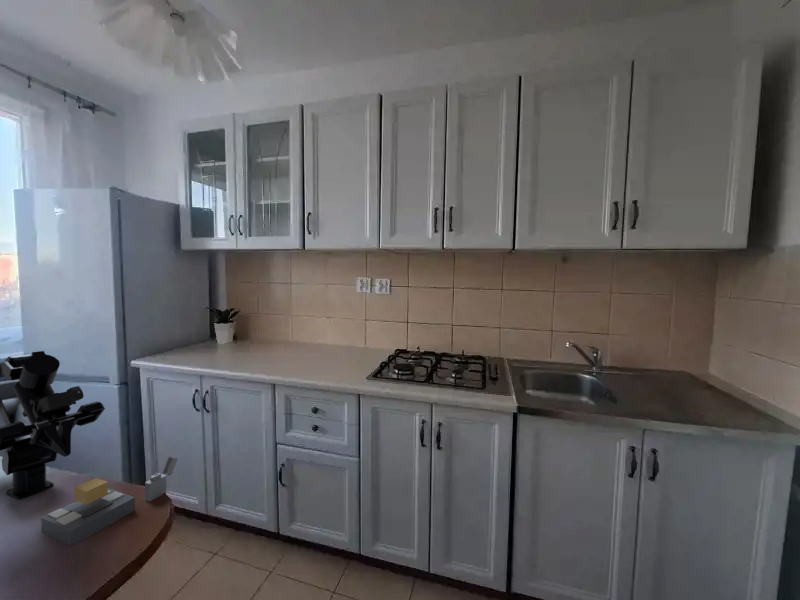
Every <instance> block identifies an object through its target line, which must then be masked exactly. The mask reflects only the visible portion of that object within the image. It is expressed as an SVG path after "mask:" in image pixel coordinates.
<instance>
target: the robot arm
mask: <svg viewBox="0 0 800 600" xmlns="http://www.w3.org/2000/svg"><path fill="white" fill-rule="evenodd" d="M60 364H61V363H60V360H59V359H57V358H56V357H55V356H53V355H51V354H46V353H45V351H44V350H40V351H38V350H37V351H32V352H31V353H27V354H19V355H16V354H15V355H9V356H8V357H6V358H5V359H4V361H1V362H0V378H6V379H7V380H2V381H0V415H1V416H2V420H3V422H4V424H5V425H2V426H0V451H4V452H3V455H2V458H1V469H2V471H3V472H4V473H5V475H6V476H9V475H11V474H12V488H9V489H7V490H6V491H5V494H7V495H8V496H11V497H13V498H15V499H17V500H22V499H24V498H27V497H29V496H32V495H34V494H36V493H39V492H41V491H44V490H47V489H48V488H51V487H54V484H55V483H54V482H51V481H50V480H47V464H48V463H52V462H55V461H56V459H57V454H58V455H61V456H62V457H64V458H65V457H68V456H70V454H71V452H72V448H71V447H72V446H71V445H72V444H71V443H72V439H71V438H72V430H73V429H74V427H75V426H80V427H81V426H85V425H89V424H92V423H94V422H96V421H97V420H98V419H99V418H100V416H101V415H102V413H103V412H104V410H105V409H106V408H105V406H104V404H103V403H102V402H101V401H93V402H90V403H85V404H82V405H80V406H79V408H78V409H77V411H76V412H72V413H69V414H67V413H68V412H70V410H71V409H72V408H71V406H73V405H76V404H77V401H80V400H83V398H84V396H85V395H84V392H83V390H82V388H81V387H80V386H79V385H77V386H73V387H70V388H68V389H66V391H63V392H55V391H54V389H53V387H52V384H53V383H54V382H55V378H56V376H57V373H58V371H59V367H60Z"/></svg>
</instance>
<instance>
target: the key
mask: <svg viewBox="0 0 800 600" xmlns="http://www.w3.org/2000/svg"><path fill="white" fill-rule="evenodd" d="M108 483H109V482H108V481H106V480H104V479H101V478H98V477H95V478H92V479H89V480H87V481H85V482H83V483H81V484H79V485H76V486H74V500H75V502H76V501H79V502H81V503H83V504H86V505H87V504H89V503H91V502H93V501H95V500H97V499H99V498H101V497H103V496H105V495H107V494H108V488H109V487H108V485H109V484H108Z"/></svg>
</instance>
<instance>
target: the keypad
mask: <svg viewBox="0 0 800 600" xmlns="http://www.w3.org/2000/svg"><path fill="white" fill-rule="evenodd" d="M133 510H134V511H136V498H135V497H134V496H132V495H129V494H126V493H124V492H121V491H118V490H115V489H112V488H110V487H108V494H107V495H105V496H103V497H101V498H99V499H97V500H95V501H93V502H91V503H89V504H87V505H86V504H83V503H81V502H79V501H76V500H75V501H74V502H73V503H70V504H68V505H65V506H64V507H61V508H59V509H56V510H54V511H51V512H49V513H47V514H46V515H44V516H43V517H41V521H40V522H41V524H40V525H41V533H43V534H45V533H46V534H45V535H47V534H48V535H47V536H49V537H51V538H53V539H55V540H57V541H60V542H61V543H64V544H65V545H68V546H70V547H71V546H73V545H75V544H77V543H79V542H81V541H82V540H84V539H86V538H88V537H90V536H91V535H94V534H95V533H96V532H98V531H100V530H102V529H104V528H106V527H107V526H109V525H111V524H113V523H114V522H115V523H116V521H118V520H120V519H121V518H123V517H125V516H127V515H128V514H130V513H133V512H134V511H133ZM132 511H133V512H132Z"/></svg>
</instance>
